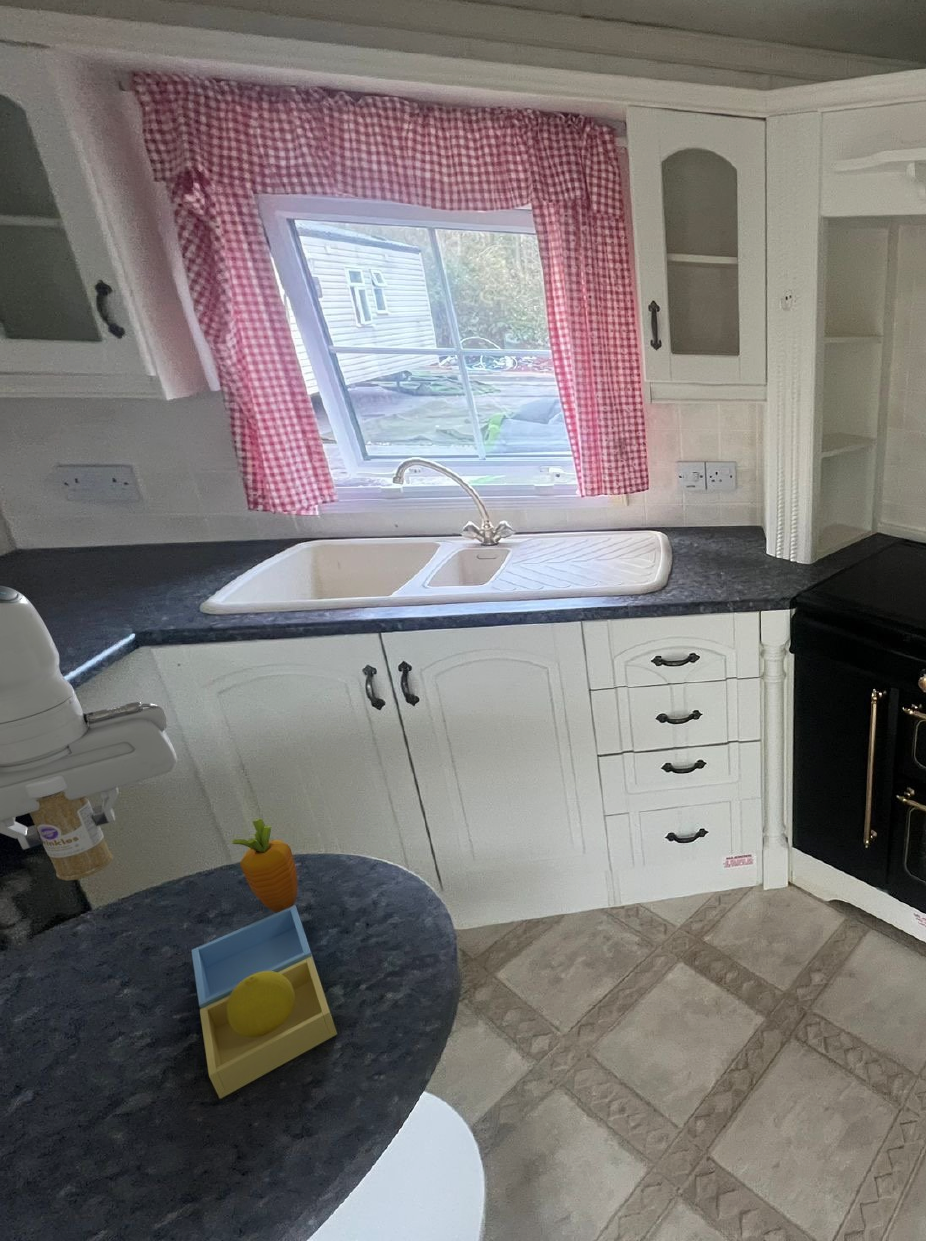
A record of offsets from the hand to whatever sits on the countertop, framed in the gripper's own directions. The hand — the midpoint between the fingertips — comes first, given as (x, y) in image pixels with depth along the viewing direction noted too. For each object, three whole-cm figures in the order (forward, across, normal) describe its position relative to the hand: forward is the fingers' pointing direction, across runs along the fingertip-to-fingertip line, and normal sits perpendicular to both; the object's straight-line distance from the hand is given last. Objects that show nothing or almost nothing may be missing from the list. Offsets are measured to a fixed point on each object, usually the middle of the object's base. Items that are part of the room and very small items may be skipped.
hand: (70, 832), depth 79 cm
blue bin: (+19, -11, +14) cm, 26 cm away
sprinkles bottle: (+5, 0, 0) cm, 5 cm away
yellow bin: (+19, -11, +24) cm, 33 cm away
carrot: (+19, -15, +5) cm, 25 cm away
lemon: (+19, -11, +24) cm, 33 cm away
